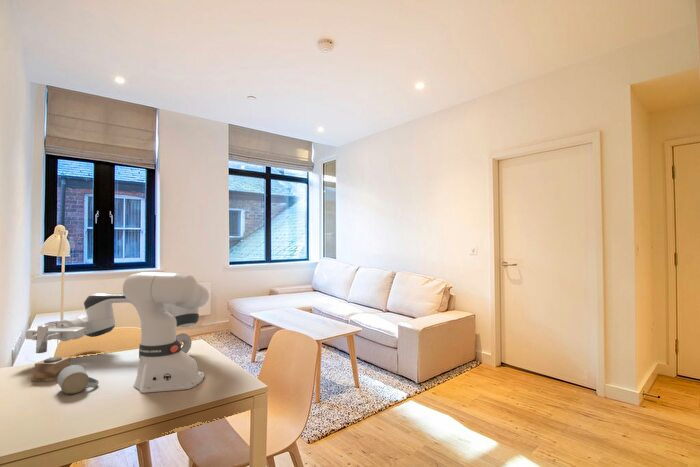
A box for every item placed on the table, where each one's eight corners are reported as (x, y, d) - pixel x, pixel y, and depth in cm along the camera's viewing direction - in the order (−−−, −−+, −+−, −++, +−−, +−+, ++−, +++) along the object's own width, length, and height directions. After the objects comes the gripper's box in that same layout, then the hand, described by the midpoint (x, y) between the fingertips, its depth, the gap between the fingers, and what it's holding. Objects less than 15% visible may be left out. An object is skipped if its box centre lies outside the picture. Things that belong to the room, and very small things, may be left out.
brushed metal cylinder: (49, 350, 135) (50, 325, 136) (42, 353, 132) (43, 327, 133) (40, 350, 135) (42, 325, 136) (33, 353, 132) (35, 327, 132)
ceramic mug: (60, 398, 109) (62, 373, 109) (56, 390, 114) (58, 367, 115) (101, 389, 117) (102, 366, 117) (95, 382, 122) (96, 360, 123)
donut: (172, 360, 145) (173, 336, 146) (167, 359, 147) (168, 335, 147) (192, 354, 154) (193, 331, 155) (187, 352, 156) (188, 330, 156)
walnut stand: (71, 372, 130) (72, 355, 130) (54, 381, 122) (55, 362, 122) (49, 372, 130) (50, 355, 130) (31, 381, 122) (32, 363, 122)
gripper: (92, 337, 147) (67, 346, 133) (42, 337, 146) (12, 346, 132) (93, 322, 147) (68, 330, 134) (43, 322, 146) (13, 329, 133)
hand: (40, 338), depth 133 cm, fingers closed on brushed metal cylinder, 3 cm apart
